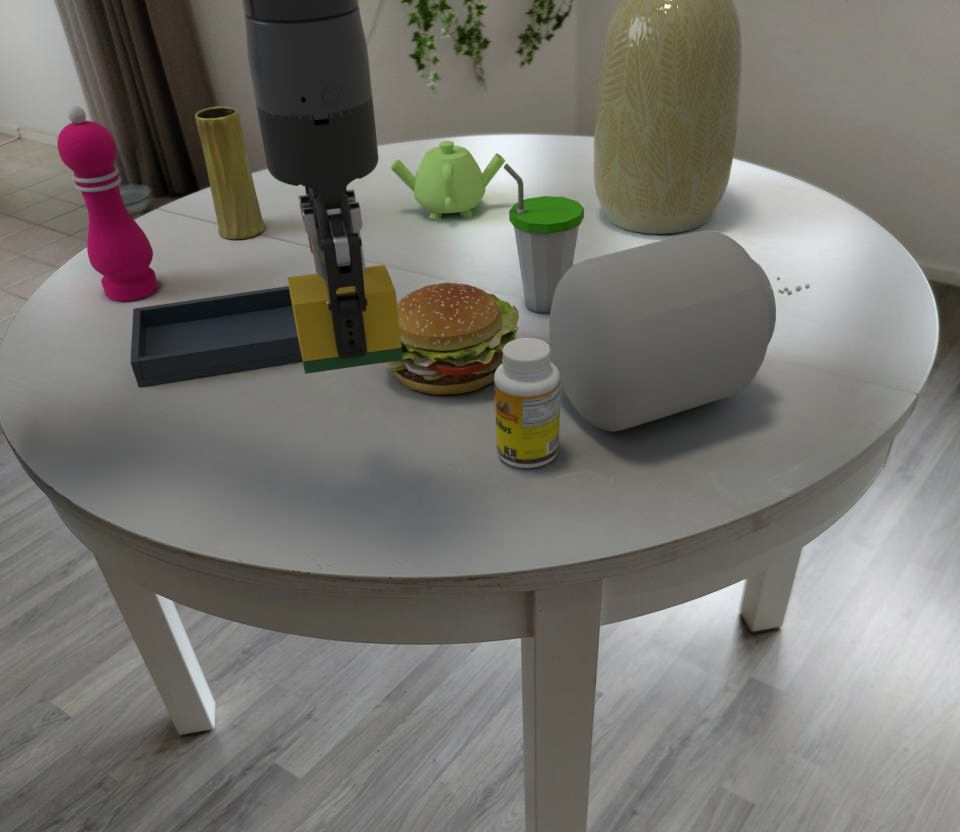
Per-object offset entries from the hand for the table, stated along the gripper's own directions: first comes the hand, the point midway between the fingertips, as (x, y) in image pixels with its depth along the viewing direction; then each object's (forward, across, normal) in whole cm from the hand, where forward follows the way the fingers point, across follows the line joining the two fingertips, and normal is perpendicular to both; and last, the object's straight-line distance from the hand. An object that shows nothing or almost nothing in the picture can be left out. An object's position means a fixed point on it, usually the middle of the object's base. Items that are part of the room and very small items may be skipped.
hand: (348, 338), depth 72 cm
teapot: (+14, -60, +20) cm, 65 cm away
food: (+14, -18, +12) cm, 25 cm away
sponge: (+1, 0, 0) cm, 1 cm away
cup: (+14, -28, +24) cm, 40 cm away
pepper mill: (+14, -48, -22) cm, 55 cm away
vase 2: (+13, -49, +45) cm, 68 cm away
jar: (+13, -8, +32) cm, 35 cm away
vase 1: (+14, -62, -8) cm, 64 cm away
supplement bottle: (+14, 0, +15) cm, 20 cm away
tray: (+14, -30, -10) cm, 35 cm away
